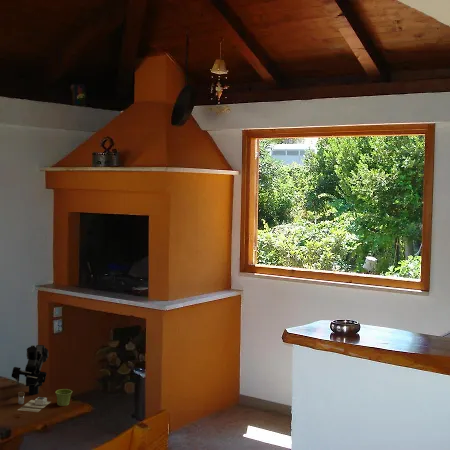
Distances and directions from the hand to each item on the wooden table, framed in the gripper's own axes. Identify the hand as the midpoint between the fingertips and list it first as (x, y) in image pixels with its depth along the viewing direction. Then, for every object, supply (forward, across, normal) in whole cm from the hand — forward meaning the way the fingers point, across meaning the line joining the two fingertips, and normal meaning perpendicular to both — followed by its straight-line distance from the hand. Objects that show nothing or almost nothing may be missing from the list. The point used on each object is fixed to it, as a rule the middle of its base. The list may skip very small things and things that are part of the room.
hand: (26, 384), depth 344 cm
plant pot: (+1, +23, +10) cm, 25 cm away
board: (+4, +7, +12) cm, 15 cm away
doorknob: (+1, 0, +15) cm, 15 cm away
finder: (+1, +10, +11) cm, 15 cm away
